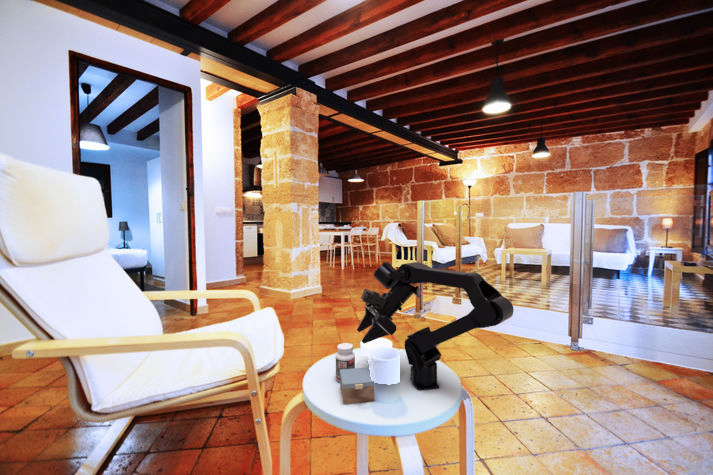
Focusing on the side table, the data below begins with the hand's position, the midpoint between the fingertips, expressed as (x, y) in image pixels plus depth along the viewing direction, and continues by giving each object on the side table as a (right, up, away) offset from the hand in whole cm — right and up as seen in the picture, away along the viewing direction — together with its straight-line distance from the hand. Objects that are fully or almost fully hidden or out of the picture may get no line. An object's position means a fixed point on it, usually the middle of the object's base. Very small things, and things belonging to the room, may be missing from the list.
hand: (360, 336), depth 90 cm
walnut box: (-1, -13, -8) cm, 15 cm away
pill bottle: (-4, -13, 0) cm, 13 cm away
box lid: (-1, -9, -9) cm, 13 cm away
